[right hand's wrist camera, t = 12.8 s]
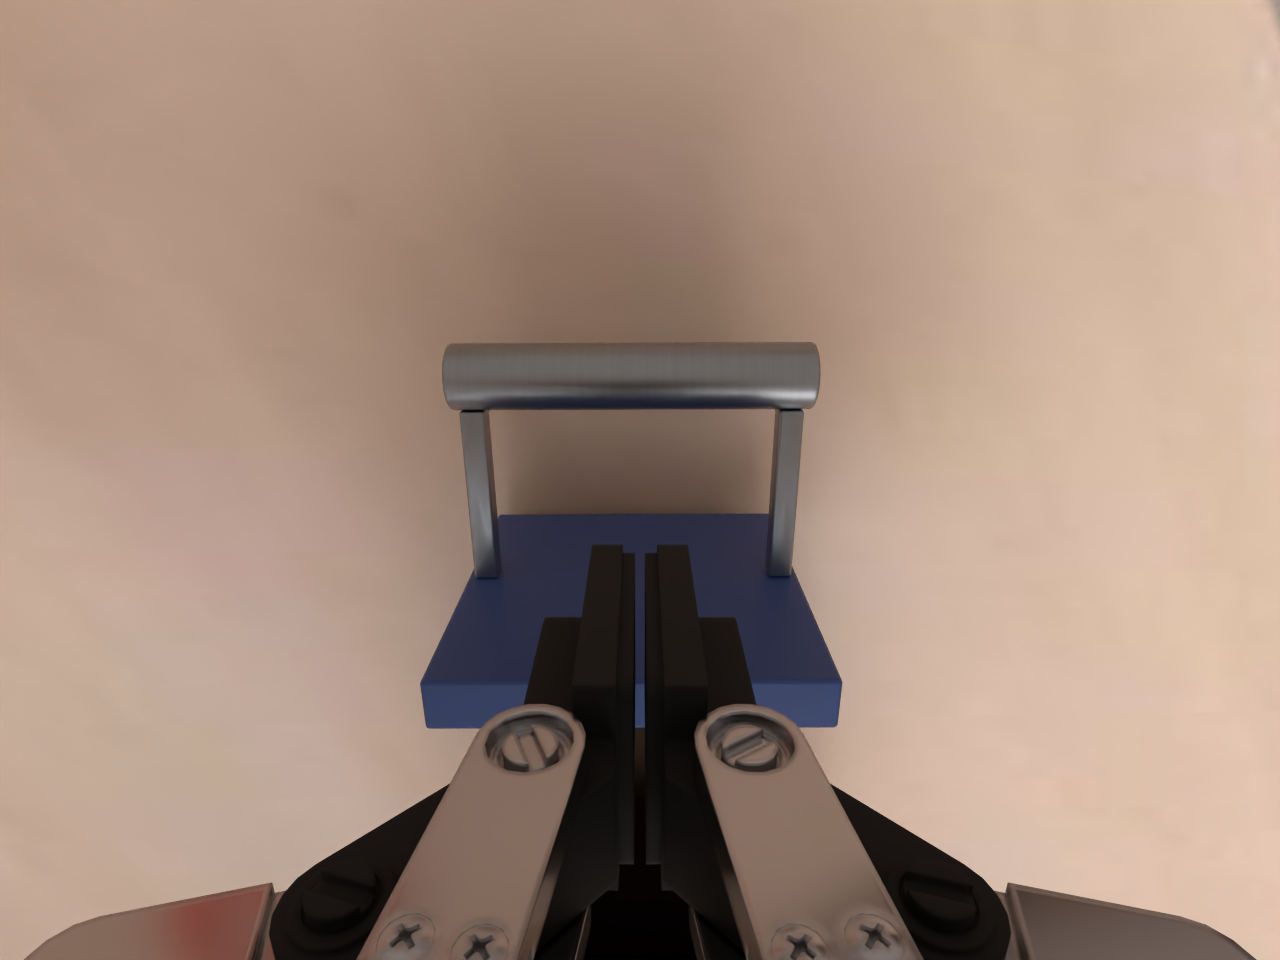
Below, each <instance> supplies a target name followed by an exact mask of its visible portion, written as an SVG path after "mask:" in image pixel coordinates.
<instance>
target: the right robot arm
mask: <svg viewBox="0 0 1280 960" xmlns="http://www.w3.org/2000/svg"><path fill="white" fill-rule="evenodd" d="M634 796H635V553H623V545H592V549H591V555H590V562H589V569H588V576H587V583H586V590H585V597H584V603H583V610H582V617H546V618H544V621H543V625H542V629H541V633H540V638H539V642H538V646H537V650H536V654H535V659H534V663H533V667H532V671H531V675H530V680H529V684H528V688H527V692H526V696H525V701H524V705H522V706H517V707H513V708H510V709H508V710H506V711H503V712H501V713H499V714H497V715H495V716H494V717H493V718H491V719H490V720H489V721H487V722H486V723H485V724H484V725H483V726H482V728H481V729H480V730H479V732H478V733H477V734H476V736H475V738H474V740H473V742H472V744H471V746H470V747H469V749H468V751H467V753H466V755H465V757H464V759H463V761H462V762H461V764H460V766H459V768H458V770H457V772H456V774H455V776H454V777H453V779H452V781H451V783H450V784H448V785H447V786H445V787H443V788H442V789H440V790H439V791H437V792H435V793H434V794H432V795H430V796H429V797H427V798H425V799H424V800H422V801H420V802H419V803H417V804H415V805H414V806H412V807H410V808H409V809H407V810H405V811H404V812H402V813H400V814H399V815H397V816H395V817H394V818H392V819H390V820H389V821H387V822H385V823H384V824H382V825H380V826H379V827H377V828H375V829H374V830H372V831H370V832H369V833H367V834H366V835H364V836H362V837H361V838H359V839H357V840H356V841H354V842H352V843H351V844H349V845H347V846H346V847H344V848H342V849H341V850H339V851H337V852H336V853H334V854H332V855H331V856H329V857H327V858H326V859H324V860H322V861H321V862H319V863H317V864H316V865H314V866H313V867H312V868H310V869H309V870H308V871H306V872H305V873H304V874H302V875H301V876H300V877H298V878H297V879H296V880H295V881H294V883H293V884H292V885H291V886H290V887H289V888H288V889H287V890H286V891H283V892H278V893H275V892H274V888H273V884H272V883H267V884H262V885H257V886H252V887H247V888H242V889H237V890H232V891H227V892H221V893H216V894H211V895H206V896H201V897H196V898H191V899H186V900H181V901H176V902H170V903H165V904H160V905H155V906H150V907H145V908H140V909H135V910H130V911H125V912H120V913H114V914H109V915H104V916H100V917H96V918H93V919H90V920H87V921H84V922H81V923H78V924H75V925H73V926H71V927H69V928H68V929H66V930H64V931H62V932H61V933H59V934H57V935H55V936H53V937H52V938H50V939H48V940H47V941H45V942H44V943H43V944H42V945H41V946H39V947H38V948H37V949H36V950H35V951H33V952H32V953H31V954H30V955H29V956H28V957H26V958H25V959H24V960H583V959H584V955H585V950H586V946H587V941H588V937H589V933H590V928H591V916H592V906H591V904H592V903H593V902H594V901H596V900H597V899H598V898H599V897H600V896H601V895H603V894H604V893H605V892H606V891H618V885H619V864H634ZM645 796H646V864H661V885H662V891H674V892H675V893H676V894H677V895H679V896H680V897H681V898H682V899H683V900H684V901H686V902H687V903H688V904H689V906H688V916H689V928H690V933H691V937H692V941H693V946H694V950H695V955H696V959H697V960H1256V959H1255V958H1254V957H1252V956H1251V955H1250V954H1249V953H1248V952H1247V951H1245V950H1244V949H1243V948H1242V947H1241V946H1239V945H1238V944H1237V943H1236V942H1235V941H1233V940H1232V939H1230V938H1228V937H1227V936H1225V935H1223V934H1221V933H1219V932H1218V931H1216V930H1214V929H1212V928H1211V927H1209V926H1207V925H1205V924H1202V923H1199V922H1196V921H1193V920H1190V919H1187V918H1184V917H1180V916H1176V915H1171V914H1166V913H1160V912H1155V911H1150V910H1145V909H1140V908H1135V907H1130V906H1125V905H1120V904H1115V903H1110V902H1104V901H1099V900H1094V899H1089V898H1084V897H1079V896H1074V895H1069V894H1064V893H1059V892H1053V891H1048V890H1043V889H1038V888H1033V887H1028V886H1023V885H1018V884H1013V883H1008V884H1007V888H1006V892H1005V893H1002V892H997V891H994V890H993V889H992V888H991V887H990V886H989V885H988V884H987V883H986V881H985V880H984V879H983V878H982V877H980V876H979V875H978V874H976V873H975V872H974V871H972V870H971V869H970V868H968V867H967V866H966V865H964V864H963V863H961V862H959V861H958V860H956V859H954V858H953V857H951V856H949V855H948V854H946V853H944V852H943V851H941V850H939V849H938V848H936V847H934V846H933V845H931V844H929V843H928V842H926V841H924V840H923V839H921V838H919V837H918V836H916V835H914V834H913V833H911V832H910V831H908V830H906V829H905V828H903V827H901V826H900V825H898V824H896V823H895V822H893V821H891V820H890V819H888V818H886V817H885V816H883V815H881V814H880V813H878V812H876V811H875V810H873V809H871V808H870V807H868V806H866V805H865V804H863V803H861V802H860V801H858V800H856V799H855V798H853V797H851V796H850V795H848V794H846V793H845V792H843V791H841V790H840V789H838V788H837V787H835V786H833V785H832V784H830V783H829V781H828V779H827V777H826V776H825V774H824V772H823V770H822V768H821V766H820V764H819V762H818V761H817V759H816V757H815V755H814V753H813V751H812V749H811V747H810V746H809V744H808V742H807V740H806V738H805V736H804V734H803V733H802V732H801V730H800V729H799V728H798V726H797V725H796V724H795V723H794V722H793V721H791V720H790V719H789V718H787V717H786V716H785V715H783V714H781V713H779V712H777V711H774V710H772V709H770V708H767V707H763V706H758V705H756V701H755V696H754V692H753V688H752V684H751V680H750V675H749V671H748V667H747V663H746V659H745V654H744V650H743V646H742V642H741V638H740V633H739V629H738V625H737V621H736V619H735V618H734V617H698V610H697V603H696V597H695V590H694V583H693V576H692V569H691V562H690V555H689V549H688V545H657V553H645Z"/></svg>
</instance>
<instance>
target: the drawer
mask: <svg viewBox="0 0 1280 960" xmlns="http://www.w3.org/2000/svg"><path fill="white" fill-rule="evenodd" d="M442 381H443V390H444V395H445V398H446V401H447V404H448V406H449V407H450V408H451V409H453V410H462V411H461V412H460V423H461V433H462V444H463V454H464V464H465V475H466V485H467V495H468V506H469V516H470V526H471V537H472V547H473V557H474V570H473V572H472V575H471V577H470V579H469V581H468V583H467V585H466V587H465V589H464V592H463V594H462V596H461V598H460V600H459V602H458V604H457V606H456V608H455V611H454V613H453V615H452V617H451V619H450V621H449V623H448V625H447V628H446V630H445V632H444V634H443V636H442V638H441V640H440V642H439V644H438V647H437V649H436V651H435V653H434V655H433V657H432V659H431V661H430V664H429V666H428V668H427V670H426V672H425V674H424V676H423V678H422V680H421V683H420V685H421V693H422V700H423V707H424V715H425V722H426V727H427V728H482V726H483V725H484V724H485V723H486V722H487V721H489V720H490V719H491V718H493V717H494V716H495V715H497V714H499V713H501V712H503V711H506V710H508V709H510V708H513V707H517V706H522V705H524V701H525V696H526V692H527V688H528V684H529V680H530V675H531V671H532V667H533V663H534V659H535V654H536V650H537V646H538V642H539V638H540V633H541V629H542V625H543V621H544V618H546V617H582V610H583V603H584V597H585V590H586V583H587V576H588V569H589V562H590V555H591V549H592V545H623V553H635V796H634V864H619V885H618V891H606V892H605V893H604V894H603V895H601V896H600V897H599V898H598V899H597V900H596V901H594V902H593V903H592V904H591V906H592V916H591V928H590V933H589V937H588V941H587V946H586V950H585V955H584V959H583V960H697V959H696V955H695V950H694V946H693V941H692V937H691V933H690V928H689V916H688V906H689V904H688V903H687V902H686V901H684V900H683V899H682V898H681V897H680V896H679V895H677V894H676V893H675V892H674V891H662V885H661V864H646V796H645V553H657V545H688V549H689V555H690V562H691V569H692V576H693V583H694V590H695V597H696V603H697V610H698V617H734V618H735V619H736V621H737V625H738V629H739V633H740V638H741V642H742V646H743V650H744V654H745V659H746V663H747V667H748V671H749V675H750V680H751V684H752V688H753V692H754V696H755V701H756V705H758V706H763V707H767V708H770V709H772V710H774V711H777V712H779V713H781V714H783V715H785V716H786V717H787V718H789V719H790V720H791V721H793V722H794V723H795V724H796V725H797V726H798V727H836V726H837V723H838V716H839V707H840V698H841V690H842V680H841V678H840V675H839V673H838V671H837V669H836V666H835V664H834V662H833V659H832V657H831V655H830V652H829V650H828V648H827V646H826V643H825V641H824V639H823V636H822V634H821V632H820V629H819V627H818V625H817V623H816V620H815V618H814V616H813V613H812V611H811V609H810V606H809V604H808V602H807V600H806V597H805V595H804V593H803V590H802V588H801V586H800V583H799V581H798V579H797V577H796V574H795V572H794V570H793V567H792V556H793V543H794V531H795V518H796V506H797V493H798V480H799V468H800V455H801V443H802V430H803V418H804V412H803V410H802V409H810V408H812V407H813V406H814V405H815V403H816V400H817V397H818V393H819V387H820V358H819V353H818V349H817V346H816V345H815V344H814V343H812V342H731V343H486V344H450V345H448V346H447V347H446V349H445V352H444V357H443V363H442ZM635 409H776V410H775V426H774V441H773V456H772V472H771V487H770V502H769V514H579V515H500V516H499V517H498V518H497V506H496V494H495V481H494V469H493V457H492V445H491V432H490V420H489V410H635Z"/></svg>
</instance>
